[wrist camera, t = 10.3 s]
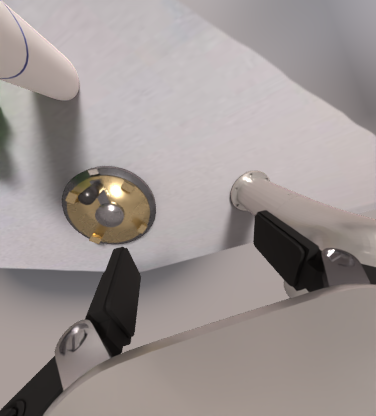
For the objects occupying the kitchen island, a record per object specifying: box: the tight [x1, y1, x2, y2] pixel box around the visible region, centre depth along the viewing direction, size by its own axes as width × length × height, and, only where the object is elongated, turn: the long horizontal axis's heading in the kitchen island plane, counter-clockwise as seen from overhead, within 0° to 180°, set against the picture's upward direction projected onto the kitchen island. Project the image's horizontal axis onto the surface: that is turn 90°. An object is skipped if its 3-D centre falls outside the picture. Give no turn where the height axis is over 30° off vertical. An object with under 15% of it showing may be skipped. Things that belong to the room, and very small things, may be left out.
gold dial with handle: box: [65, 175, 150, 244], centre depth 33 cm, size 18×18×8 cm
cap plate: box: [62, 166, 156, 244], centre depth 37 cm, size 21×21×3 cm
